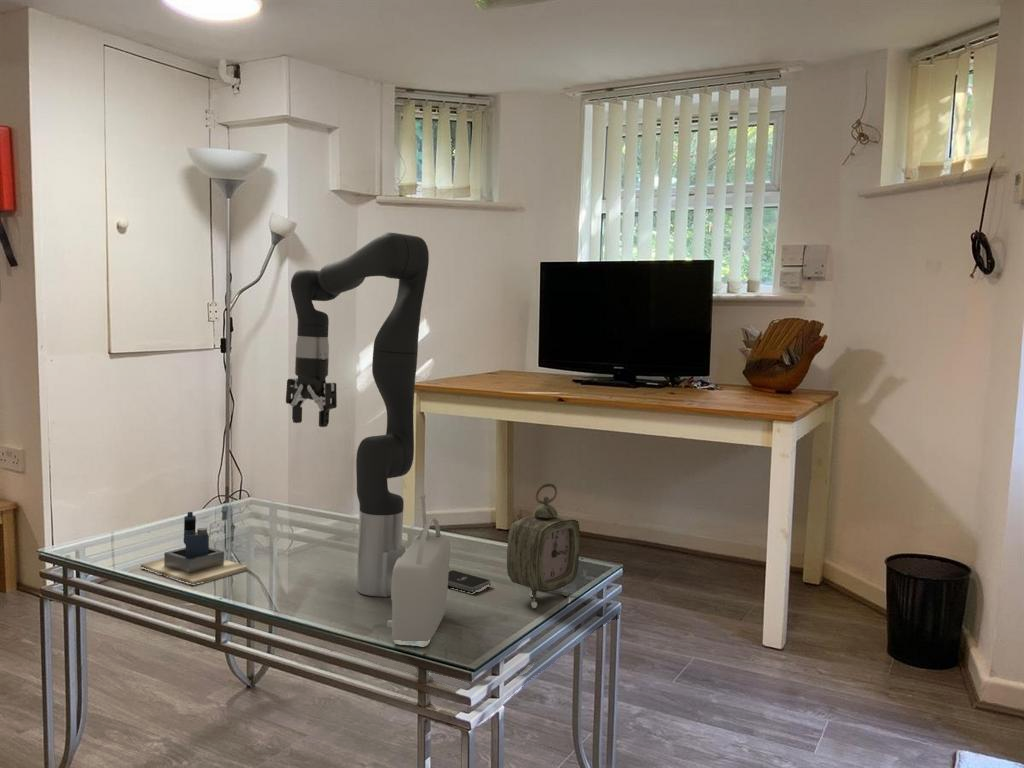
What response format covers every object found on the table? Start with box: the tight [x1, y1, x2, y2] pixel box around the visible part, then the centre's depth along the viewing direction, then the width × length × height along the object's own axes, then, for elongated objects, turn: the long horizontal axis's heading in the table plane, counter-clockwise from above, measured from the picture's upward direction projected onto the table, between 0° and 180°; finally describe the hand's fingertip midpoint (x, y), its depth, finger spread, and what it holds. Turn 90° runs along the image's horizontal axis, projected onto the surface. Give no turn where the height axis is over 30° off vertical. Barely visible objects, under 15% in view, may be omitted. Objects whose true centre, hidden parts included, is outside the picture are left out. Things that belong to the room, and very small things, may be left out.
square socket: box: [163, 546, 225, 574], centre depth 177 cm, size 9×9×3 cm
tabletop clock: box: [506, 482, 581, 600], centre depth 168 cm, size 14×9×25 cm, turn 139°
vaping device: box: [183, 511, 210, 558], centre depth 177 cm, size 3×5×12 cm, turn 113°
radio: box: [386, 493, 451, 641], centre depth 148 cm, size 22×8×25 cm, turn 175°
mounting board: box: [140, 558, 248, 584], centre depth 177 cm, size 18×14×1 cm
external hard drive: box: [448, 569, 491, 593], centre depth 175 cm, size 7×11×2 cm, turn 56°
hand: (310, 424), depth 187 cm, fingers open, 8 cm apart
